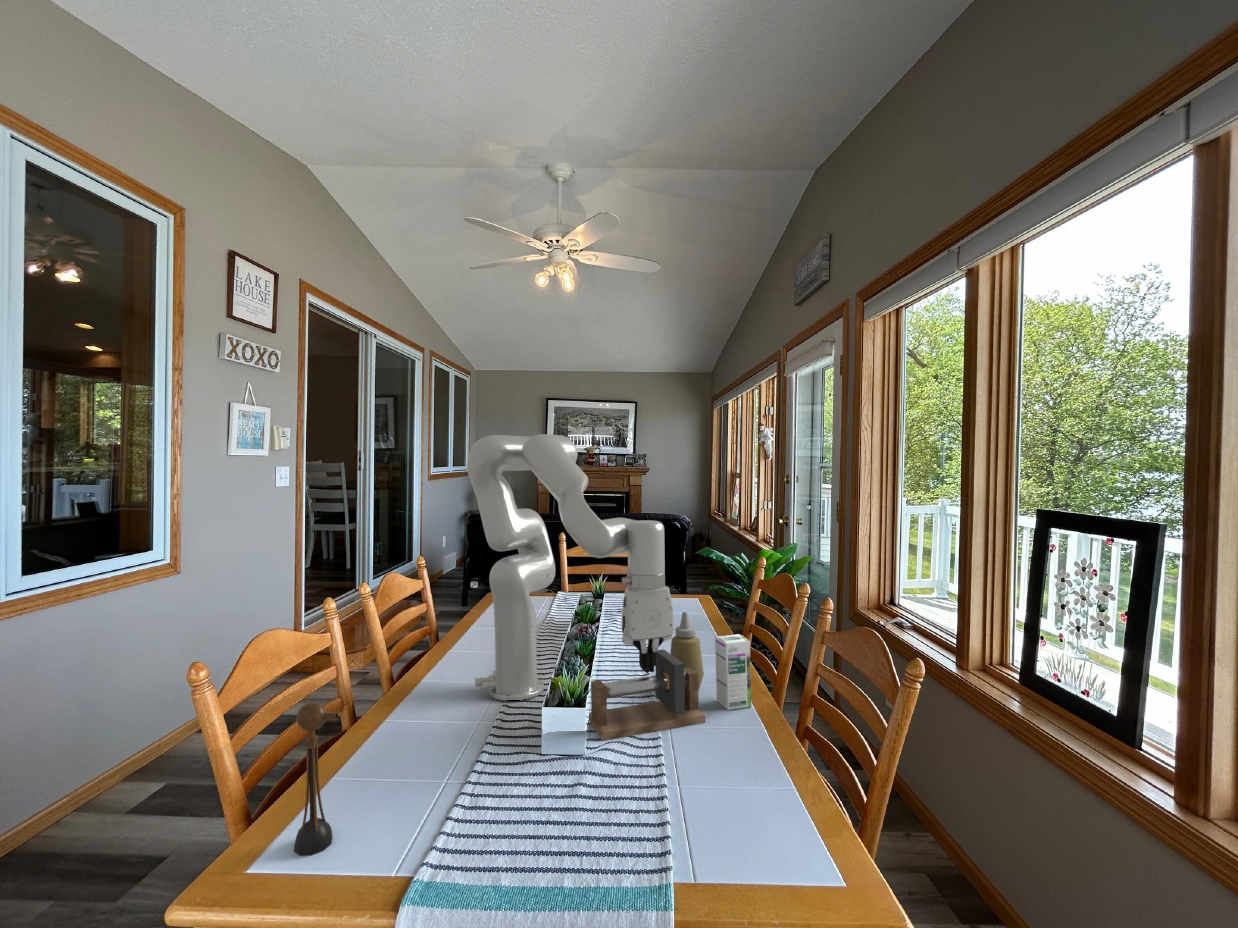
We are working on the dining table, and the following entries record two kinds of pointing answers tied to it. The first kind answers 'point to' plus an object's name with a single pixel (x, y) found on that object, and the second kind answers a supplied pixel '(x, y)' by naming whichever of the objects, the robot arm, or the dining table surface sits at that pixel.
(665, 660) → the dark grey square plate
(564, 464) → the robot arm
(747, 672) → the syrup box
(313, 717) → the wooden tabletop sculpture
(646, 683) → the pipe stand
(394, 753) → the dining table surface
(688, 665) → the squeeze bottle
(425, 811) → the dining table surface
